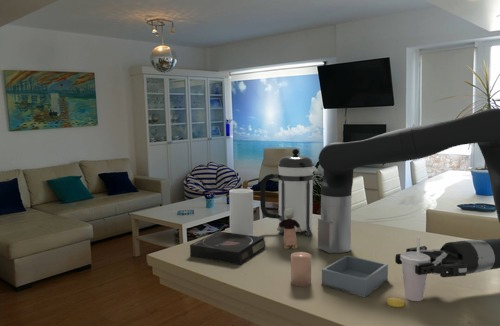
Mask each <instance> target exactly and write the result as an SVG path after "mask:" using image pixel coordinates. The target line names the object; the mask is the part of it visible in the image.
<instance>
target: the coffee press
mask: <svg viewBox="0 0 500 326" xmlns="http://www.w3.org/2000/svg"><path fill="white" fill-rule="evenodd" d="M299 153H300V151H299V150H298V148H293V150H292V155H286V156H283V157H281V158H280V159H279V160H278V163H277V164H276V165H277V167H278V173H277V174H276V173H275V174H274V173H269V174H266V175H265V176H264V177H262V179H261V183H260V193H259V195H260V204H259V205H260V210H261V213H262V214H263V216H265V217H266V218H268V219H277V220H278V224H279V223H280V222H281V221H283V220H285V219H287V218H286V216H285V215H284V212H285V210H286V209H287V208H292V209H293V210H294V216H293V218H292V219H294V220H296V221H297V222H298V223H299V225H300V227H301V230H302V232H304V233H305V235H306V236H307V235H309V236H308V237H310V235H311V236H313V233H312V230H311V228H313V227H312V226H313V191H314V190H313V187H314V185H313V182H314V173H315V172H317V173H318V172H319V170H318V169H317V167H316V166H315V164H314V162H313V160H312V158H310V157H309V156H304V155H298V154H299ZM275 179H278V213H272V212H269V211H268V210H267V208H266V184H267V182H268V181H269V180H275ZM284 228H285V227H281V229H280V231H278V234H279V236H283V237H284ZM295 230H296V233H298V232H299V230H298V229H297V227H296V226H295ZM299 233H300V232H299Z"/></svg>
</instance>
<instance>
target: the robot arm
mask: <svg viewBox="0 0 500 326" xmlns="http://www.w3.org/2000/svg"><path fill="white" fill-rule="evenodd" d="M470 144H471V145H472V144H477V146H478V148H479V150H480V153H481V155H482V157H483V160H484V163H485V165H486V169H487V173H488V176H489V177H488V178H489V183H490V187H491V192H492V197H493V202H494V207H495V208H494V209H495V212H496V216H497V219H498V223H499V224H500V108H495V107H494V108H488V109H485V110H484V109H483V110H481V111H477V112H474V113H471V114H468V115H464V116H461V117H458V118H453V119H449V120H443V121H436V122H431V123H426V124H421V125H420V124H419V125H414V126H413V125H412V126H409V127H404V128H399V129H396V130H391V131H388V132H384V133H382V134H378V135H375V136H373V137H370V138H367V139H363V140H356V141H348V142H342V141H336V142H331V143H328V144H326V145H325V146H324V147H323V148H322V149H321V150H320V152H319V155H318V164H319V166H320V168H322V170H323V177H322V181H321V182H322V183H321V187H320V217H319V218H318V219H317V248H318V249H320V250H321V251H324V252H325V253H326V252H327V253H328V254H334V253H335V254H343V253H347V252H350V251H351V249H352V247H351V245H352V242H351V240H352V197H353V196H352V191H353V185H354V169H358V168H361V167H365V166H369V165H383V164H392V163H394V164H395V163H401V162H408V161H413V160H419V159H425V158H428V157H430V156H433V155H437V154H438V153H441V152H444V151H446V150H448V149H451V148H453V147H457V146H463V145H464V146H465V145H470ZM405 249H406V251H405V252H417V246H415V247H409V248H405ZM419 253H423V254H426V255H428V256H429V257H430V261H431V262H430V263H422V264H416V266H415V273H416V274H418V275H423V274H427V275H429V274H432V275H434V276H436V275H440V278H452V277H453V278H454V277H465V276H467V275H469V274H477V273H482V272H485V271H489V270H490V271H491V270H497V269H500V238H486V239H466V240H459V241H458V240H457V241H448V242H445V243H444V244H443V245H442V246H441V248H440V249H436V248H435V249H434V248H433V249H428V247H427V246H425V245H422V246H420V247H419ZM401 254H402V253H397V254H395V257H394V258H395V259H394V260H395V264H396V265H402V261H401V260H400V255H401Z"/></svg>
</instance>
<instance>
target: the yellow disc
mask: <svg viewBox="0 0 500 326" xmlns="http://www.w3.org/2000/svg"><path fill="white" fill-rule="evenodd" d="M386 304H387V305H388V306H390V307H392V308H403V307H404V306H405V300H404V299H402V298H399V297H388V298H387V299H386Z"/></svg>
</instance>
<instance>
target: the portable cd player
mask: <svg viewBox="0 0 500 326" xmlns="http://www.w3.org/2000/svg"><path fill="white" fill-rule="evenodd" d="M189 247H190V248H189V250H190V251H189V252H190V257H193V258H197V259H203V260H209V261H215V262H221V263H226V264H233V265H238V266H239V265H242V264H243V263H244V262H246V261H248V260H249V259H251V258H252V257H253V256H255V255H256V254H258V253H260V252H261V251H263V250H264V249H265V248H266V241H265V238H264V237H263V236H257V235H256V236H255V235H253V236H250V235H242V234H235V233H230V232H225V231H216V232H215V233H212V234H211V235H209V236H207V237H204V238H202V239H199V240H198V241H195V242H194V243H191V244H189Z"/></svg>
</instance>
